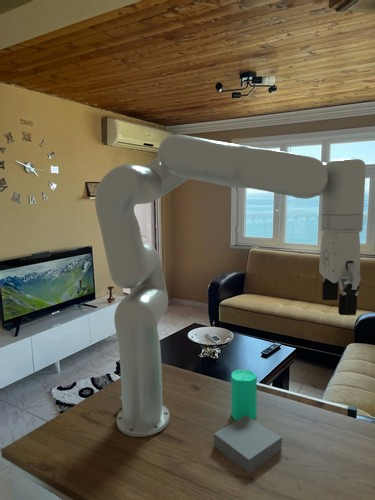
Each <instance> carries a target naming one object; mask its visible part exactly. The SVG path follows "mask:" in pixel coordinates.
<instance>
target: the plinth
mask: <svg viewBox="0 0 375 500" xmlns="http://www.w3.org/2000/svg"><path fill="white" fill-rule="evenodd" d="M282 442H283V437H282V436H280V435H279V434H277V433H275V432H274V431H272V430H271V429H270V428H267V427H266V426H264V425H262V424H261V423H259V422H258V421H256V419H255V420H253V419H252V418H250V417H248V416H247V415H245V416H244V417H242V418H240V419H238V420H237V421H236V420H235V421H233V422H231V423H230V424H228V425H226V426H225V427H223V428H221V429H219V430H217V431H216V432H214V433H213V447H214V448H216V449H217V450H218V451H219V452H221V453H222V454H223V455H225V456H226V457H227V458H229V459H230V460H231V461H232V462H233V463H235V464H236V465H237V466H238V467H240V468H241V469H243V470H244V472H246V473H247V474H250V473H253V471H255V470H257V469H258V468H259V467H260V466H262V465H263V464H264V463H266V462H268V461H269V460H270V459H272V458H273V457H275V456H276V455H277V454H279V453H280V452H282V450H283V449H282V448H283V447H282V445H283V443H282Z"/></svg>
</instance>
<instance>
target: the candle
mask: <svg viewBox="0 0 375 500" xmlns="http://www.w3.org/2000/svg"><path fill="white" fill-rule="evenodd" d="M230 376H231V378H230V379H231V380H230V381H231V384H230V385H231V389H230V390H231V393H230V394H231V399H230V401H231V417H232V419H234V420H235V421H237V420H238V419H240V418H242V417H244V416H245V415H247V416H248V417H250V418H252V419H253V420H255V421H256V418H257V397H258V396H257V391H258V390H257V384H258V383H257V379H258V377H257V375H256V373H254V372H253V371H252V370H248V369H247V370H246V369H236V370H234V371H232V373H231V375H230Z"/></svg>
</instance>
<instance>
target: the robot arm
mask: <svg viewBox="0 0 375 500" xmlns="http://www.w3.org/2000/svg"><path fill="white" fill-rule="evenodd" d="M366 167H367V166H366V162H365V161H364V160H363V159H359V158H338V159H331V160H329V161H327V162H323V161H321V160H320V159H318V158H316V157H314V156H309V155H305V154H299V153H293V152H287V151H282V150H275V149H269V148H260V147H253V146H249V145H243V144H236V143H231V142H230V143H229V142H225V141H218V140H212V139H208V138H202V137H196V136H190V135H184V134H173V135H172V134H171V135H169V136H167V137H165V138H164V139H163V140H162V141H161V143H160V144H159V146H158V150H157V157H155V158H154V159H152V160H151V161H149V162H148V163H146V164H145V165H139V164H133V163H130V164H129V163H126V164H121V165H118V166H116V167H114V168H112V169H111V170H109V171H108V172H107V173H106V174H105V175H104V176H103V177H102V179H101V180H100V182H99V184H98V185H97V187H96V188H97V189H96V191H95V195H94V196H95V198H94V204H95V205H94V206H95V212H96V216H97V221H98V224H99V228H100V232H101V237H102V243H103V248H104V252H105V256H106V261H107V265H108V271H109V274H110V277H111V280H112V282H113V283H114V284H115V285H116V286H117V287H119V288H122V289H125V290H126V289H129V291H130V293H128V294H127V295H126V296H125V297H123V298H122V299H121V301H120V302H119V303H118V304H117V306H116V309H115V311H114V317H113V319H114V321H113V323H114V327H115V332H116V335H117V336H116V337H117V341H118V351H119V352H118V353H119V364H120V365H119V367H120V381H121V395H120V396H119V399H120V400H121V403H122V409H121V410H120V411H118V414H117V417H116V426H117V428H118V430H119V431H120V432H121V433H122V434H124V435H127V436H130V437H135V438H136V437H138V438H139V437H140V438H142V437H149V436H153V435H155V434H158V433H159V432H161V431H163V430H164V429H165V428H166V427H167V426H168V424H169V422H170V418H171V417H170V411H169V409H168V407H166V406H165V405H163V402H164V401H163V379H162V376H163V375H162V374H163V373H162V354H161V353H162V352H161V342H160V341H161V340H160V336H159V332H158V323H159V322H160V320H161V318H162V317H163V316H164V315H165V313H166V311H167V309H168V305H169V296H168V295H169V294H168V289H167V285H166V281H165V280H166V279H165V273H164V271H163V265H162V260H161V258H160V255H159V253H158V251H157V250H156V248H155V247H154V246H153V245H152V244H150V243H148V242H146V241H143V238H142V233H141V228H140V223H139V221H138V219H137V216H136V214H135V206H136V205H143V204H149V203H153V202H155V201H157V200H158V199H160V198H162V197H163V196H165V195H166V194H168V193H170V192H171V191H172V190H174V189H176V188H177V187H179V186H181V185H182V184H183V183H185V182H187V181H188V180H194V181H200V182H204V183H209V184H213V185H214V184H215V185H218V186H219V185H220V186H224V187H228V188H234V189H238V188H239V189H251V190H253V189H254V190H257V191H264V192H269V193H273V194H274V193H275V194H279V195H283V196H289V197H293V198H296V199H303V200H304V199H305V200H307V199H313V198H314V197H318V196H319V197H320V196H321V197H322V200H321V203H322V204H321V224H320V225H321V227H320V228H321V229H320V230H321V231H322V235H321V242H320V243H321V244H320V251H319V252H320V253H319V254H320V255H319V265H318V271H319V274H320V275H321V276H322V289H321V290H322V293H321V298H322V300H323V301H338V308H337V309H338V311H337V313H338V315H339V316H356V315H357V306H358V295H359V289H360V282H361V279H362V277H361V274H360V272H361V241H360V240H361V238H360V237H361V236H360V233H362V232H363V226H364V211H365V209H364V207H365V190H366V189H365V188H366V187H365V186H366V173H367V172H366V170H367V169H366ZM339 289H340V294H339Z"/></svg>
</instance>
